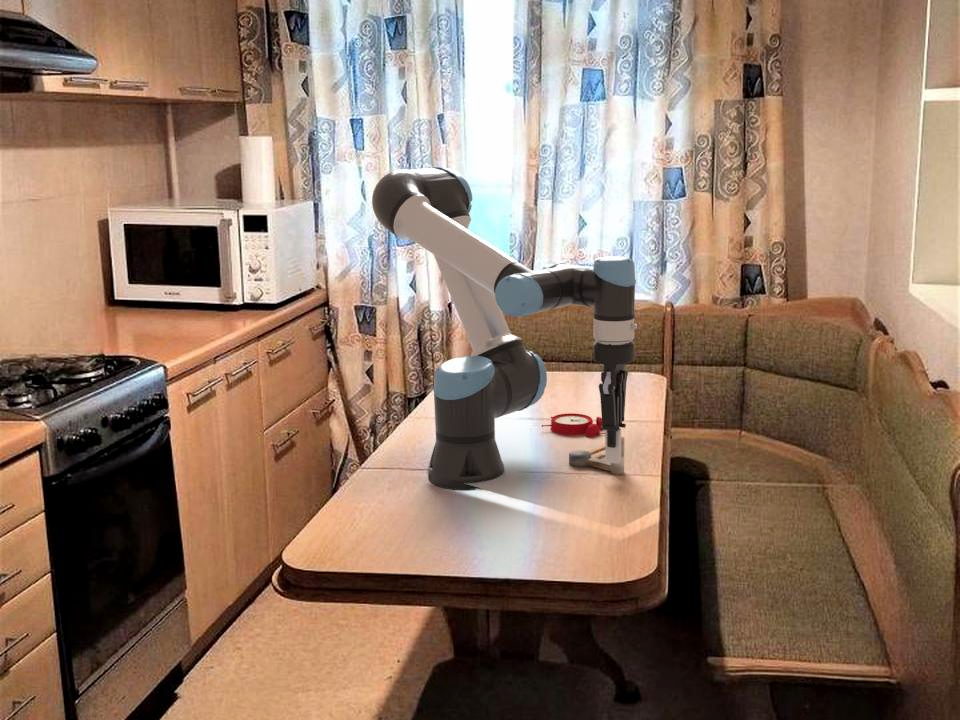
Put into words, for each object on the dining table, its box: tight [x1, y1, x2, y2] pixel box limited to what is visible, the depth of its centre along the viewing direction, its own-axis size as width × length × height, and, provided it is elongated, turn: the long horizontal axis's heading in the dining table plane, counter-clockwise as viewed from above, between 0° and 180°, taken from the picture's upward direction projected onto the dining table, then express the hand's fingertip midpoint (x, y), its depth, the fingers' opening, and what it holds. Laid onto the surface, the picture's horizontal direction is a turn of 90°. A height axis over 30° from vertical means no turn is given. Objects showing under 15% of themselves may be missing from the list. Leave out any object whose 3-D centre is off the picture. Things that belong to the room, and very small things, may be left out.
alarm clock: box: [541, 412, 605, 438], centre depth 228 cm, size 10×6×15 cm
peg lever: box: [568, 435, 625, 476], centre depth 204 cm, size 12×10×7 cm
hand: (613, 461), depth 195 cm, fingers closed
